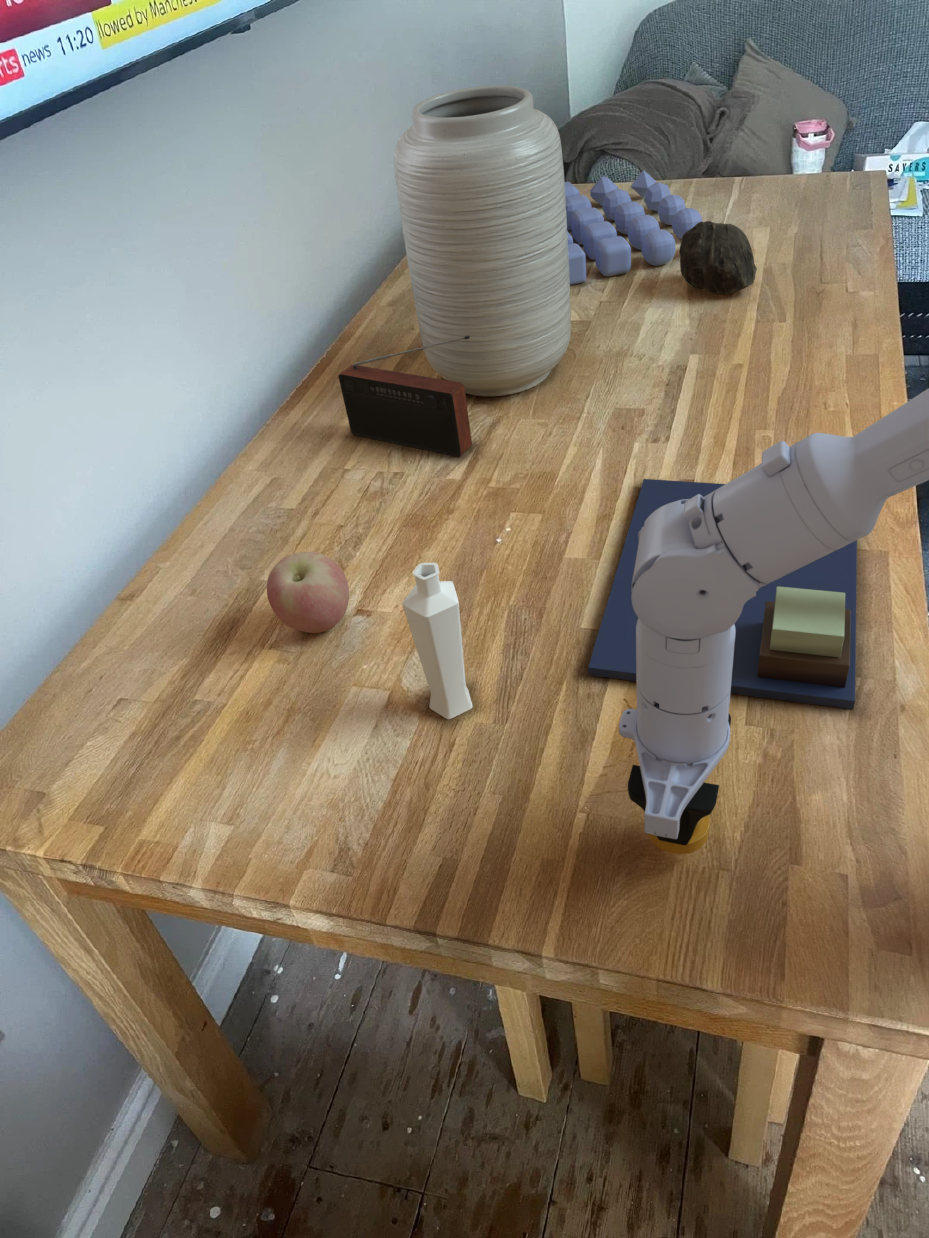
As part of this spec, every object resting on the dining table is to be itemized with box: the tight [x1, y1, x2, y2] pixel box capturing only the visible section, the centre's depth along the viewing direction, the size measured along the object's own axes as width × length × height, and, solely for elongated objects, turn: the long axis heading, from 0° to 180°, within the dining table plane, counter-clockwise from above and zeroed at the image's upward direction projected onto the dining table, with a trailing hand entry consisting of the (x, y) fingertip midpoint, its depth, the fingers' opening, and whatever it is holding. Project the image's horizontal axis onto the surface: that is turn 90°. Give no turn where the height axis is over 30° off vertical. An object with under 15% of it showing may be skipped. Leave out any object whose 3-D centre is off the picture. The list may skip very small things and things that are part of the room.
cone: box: [647, 815, 711, 855], centre depth 66 cm, size 4×4×6 cm
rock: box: [678, 220, 758, 296], centre depth 138 cm, size 10×11×10 cm
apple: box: [266, 551, 350, 634], centre depth 91 cm, size 8×8×8 cm
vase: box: [393, 84, 572, 398], centre depth 118 cm, size 20×20×34 cm
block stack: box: [757, 586, 851, 688], centre depth 79 cm, size 7×7×5 cm
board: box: [587, 478, 858, 710], centre depth 90 cm, size 30×22×1 cm
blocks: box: [564, 169, 703, 286], centre depth 159 cm, size 35×34×5 cm
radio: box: [337, 336, 473, 458], centre depth 112 cm, size 19×3×15 cm, turn 60°
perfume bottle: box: [401, 562, 474, 720], centre depth 78 cm, size 5×4×15 cm
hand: (678, 814), depth 67 cm, fingers closed on cone, 3 cm apart
